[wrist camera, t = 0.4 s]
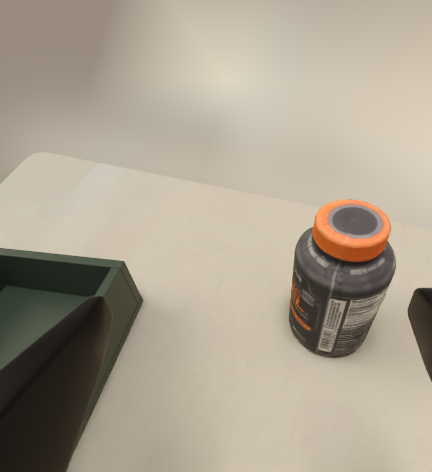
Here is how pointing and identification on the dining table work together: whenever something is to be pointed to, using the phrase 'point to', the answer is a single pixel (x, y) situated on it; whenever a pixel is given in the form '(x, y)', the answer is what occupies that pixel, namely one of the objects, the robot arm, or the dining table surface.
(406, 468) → the dining table surface
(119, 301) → the green storage tray
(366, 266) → the pill bottle
